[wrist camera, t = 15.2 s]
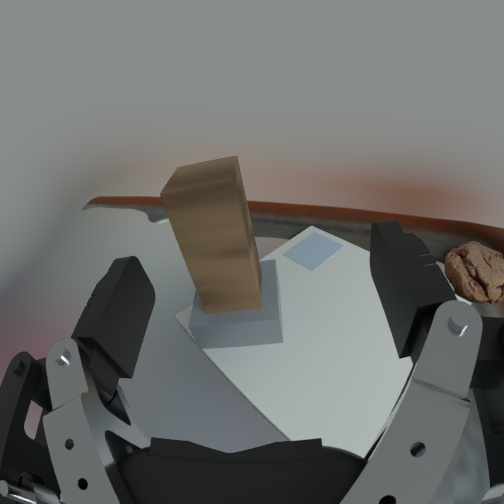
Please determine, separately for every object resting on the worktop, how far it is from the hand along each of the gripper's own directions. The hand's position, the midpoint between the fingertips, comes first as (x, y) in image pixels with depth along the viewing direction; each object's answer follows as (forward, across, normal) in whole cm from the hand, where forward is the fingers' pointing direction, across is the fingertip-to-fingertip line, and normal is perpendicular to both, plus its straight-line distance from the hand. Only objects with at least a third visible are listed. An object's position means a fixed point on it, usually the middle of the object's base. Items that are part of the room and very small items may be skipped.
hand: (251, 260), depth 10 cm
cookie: (+13, -24, +19) cm, 34 cm away
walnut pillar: (+12, +4, +13) cm, 18 cm away
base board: (+11, -4, +18) cm, 21 cm away
